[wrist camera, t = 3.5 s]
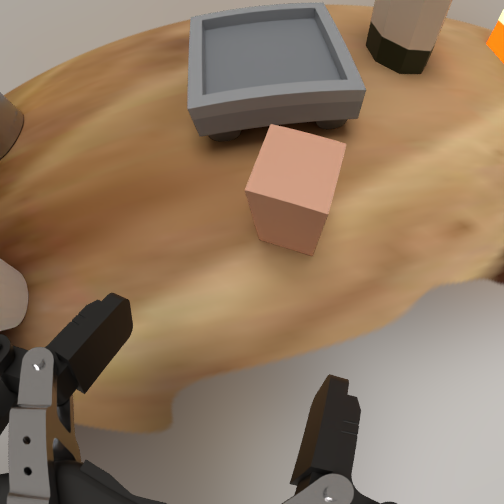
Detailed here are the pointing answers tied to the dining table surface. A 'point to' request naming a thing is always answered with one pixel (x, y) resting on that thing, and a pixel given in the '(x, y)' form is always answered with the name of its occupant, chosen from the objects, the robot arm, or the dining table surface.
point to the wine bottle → (405, 32)
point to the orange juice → (498, 38)
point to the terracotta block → (293, 187)
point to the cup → (12, 296)
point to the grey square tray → (270, 70)
